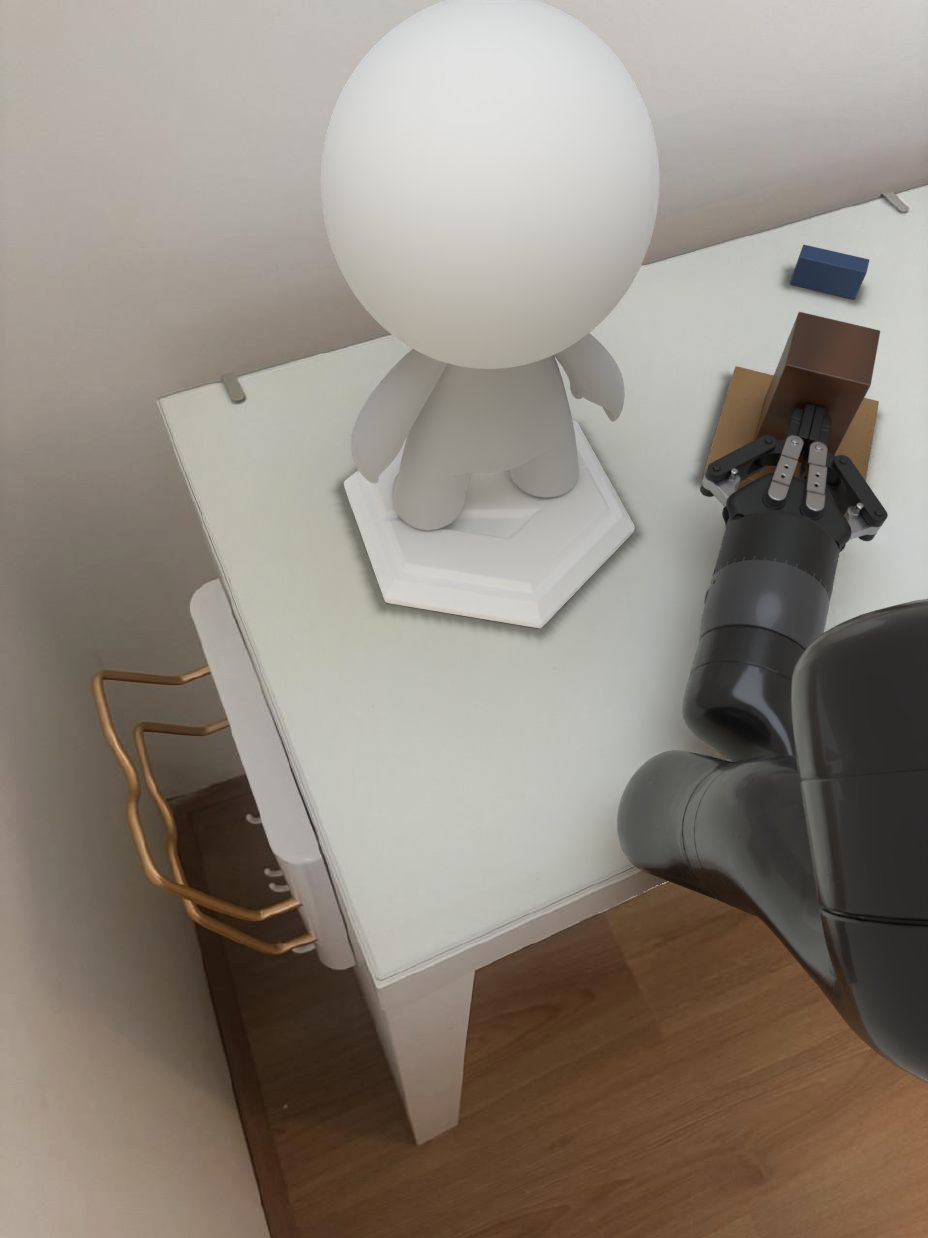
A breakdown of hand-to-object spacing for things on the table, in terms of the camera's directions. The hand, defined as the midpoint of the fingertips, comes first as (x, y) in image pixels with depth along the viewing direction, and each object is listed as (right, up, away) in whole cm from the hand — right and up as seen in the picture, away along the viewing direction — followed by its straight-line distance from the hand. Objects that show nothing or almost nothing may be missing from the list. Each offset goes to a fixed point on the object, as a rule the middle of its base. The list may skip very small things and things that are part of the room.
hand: (811, 413), depth 68 cm
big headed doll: (-24, -7, +4) cm, 25 cm away
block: (+1, -1, +7) cm, 7 cm away
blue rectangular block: (+8, +16, +18) cm, 25 cm away
